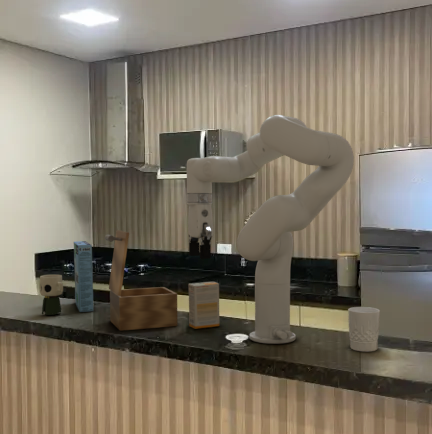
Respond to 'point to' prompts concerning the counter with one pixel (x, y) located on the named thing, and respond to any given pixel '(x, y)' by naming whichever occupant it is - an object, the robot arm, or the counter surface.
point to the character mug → (51, 293)
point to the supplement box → (203, 305)
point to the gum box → (83, 276)
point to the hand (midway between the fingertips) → (199, 256)
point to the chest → (143, 308)
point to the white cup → (363, 328)
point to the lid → (118, 260)
